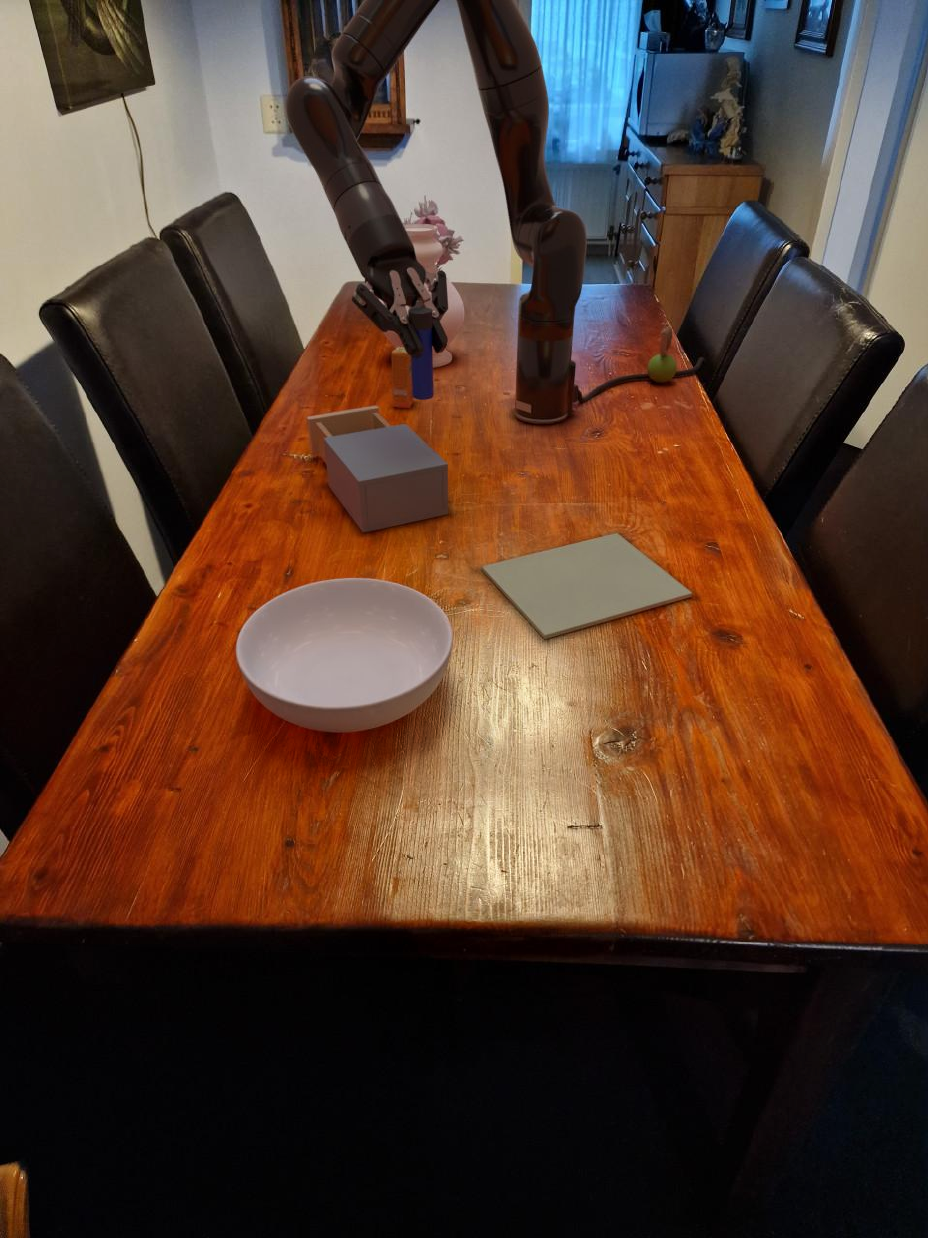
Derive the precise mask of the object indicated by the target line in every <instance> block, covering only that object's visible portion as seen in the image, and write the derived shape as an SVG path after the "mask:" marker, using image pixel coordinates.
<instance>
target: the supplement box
mask: <svg viewBox="0 0 928 1238" xmlns="http://www.w3.org/2000/svg"><path fill="white" fill-rule="evenodd" d="M391 391H392V392H391V393H392V394H391V395H392V396H391V397H392V399H391V400H392V407H393V408H400V409H410V408H411V406H412V405H413V404H414V398H413V396H412V373H411V355H409V354H408V353H407V352H406V350H405V348H404V347H396V348H395V349H393V350H392V351H391Z"/></svg>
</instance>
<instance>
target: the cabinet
mask: <svg viewBox="0 0 928 1238" xmlns="http://www.w3.org/2000/svg"><path fill="white" fill-rule="evenodd" d="M323 439H324V447H325V457H326V463H325V465H326V466H325V467H326V473H327V474H326V475H327V483H328V485H327V486H328V488H329V489H330V490H331V492H332V493H333V494H334V496H335V497H336V499H338V501H339V503H340V504H341V505H342V506H343V508H344V509H345V510H346V512H347V513H348V515H349V516H350V517H351V518H352V520H353V521H354V523H355V524H356V525H357V527H358V528H359V529H360V531H361V532H362V533H363V534H364V533H369V532H373V531H378V530H383V529H387V528H392V527H397V526H400V525H405V524H410V523H414V522H420V521H423V520H428V519H433V518H438V517H442V516H446V515H449V464H448V462H446V461H445V459H443V458H442V456H440V455H439V454H438V453H437V452H436V451H435V450H434V449H433V448H432V447H431V446H429V445H428V444H427V443H426V442H425V441H424V440H423V439H422V438H421V437H420V436H419V435H418V434H417V433H416V432H415V431H414V430H413V429H411V428H410V426H408V425H407V424H406V423H401V424H396V425H391V426H390V427H384V428H379V429H373V430H367V431H361V432H356V433H350V434H344V435H338V436H333V437H327V438H323Z"/></svg>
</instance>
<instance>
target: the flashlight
mask: <svg viewBox="0 0 928 1238" xmlns="http://www.w3.org/2000/svg"><path fill="white" fill-rule="evenodd" d="M408 318H409V324H412V325H413V327H414V329H415V331H416V333H417V335H418V337H419V339H420V342H421V344H422V346H423V353H422V354H421V356H420V357H419V358H415V359H413V358H412V356H411V373H412V396H413V399H415V400H419V401H425V400H426V401H427V400H431V399H433V398H434V395H435V394H434V391H435V390H434V368H433V353H432V327H433V323H432V309H430V308H425V307H416V308H411V309H409V310H408Z"/></svg>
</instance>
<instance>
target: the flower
mask: <svg viewBox="0 0 928 1238" xmlns="http://www.w3.org/2000/svg"><path fill="white" fill-rule="evenodd" d="M423 200H424V202H422V201H419V202H418V207H419V208H418V207H417V206H414V209H413V212H414V215H415V216H416V217H417V218H418V219H417V220H413V221H411V220H412V215H413V212H410V217H409V218H403V220H404V221H403V222H402V223H403V225H409V224H429V225H434V226H437V233H435V234H433V237H434V238H435V239H436V240H438V241H439V242H440V244H441V245H442V248H443V253H442V256H441V257H440V259H439V260H438V261H437V262H436V264H435V266H436V267H437V268H438V269H439V270H442V269H443V267H442V266H443V265H446V264H447V263H448V262H449V261H454V258H453V256H452V255H461V252H460V251H459V250H458V249H459V247H460V246H461V242H464V241H465V240H464V239H463V237H462V235H458V236H457V237H456V236H454V235H455V232H456V230H454V229H451V228H448V226H446V222H445V220H444V219H443V218H440V216H439V215H437V214H439V207H438V205H437V203H436V202H435V201H434V200H432V199H431V200H427V198H426V195H424V199H423ZM438 233H439V234H438Z"/></svg>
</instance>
